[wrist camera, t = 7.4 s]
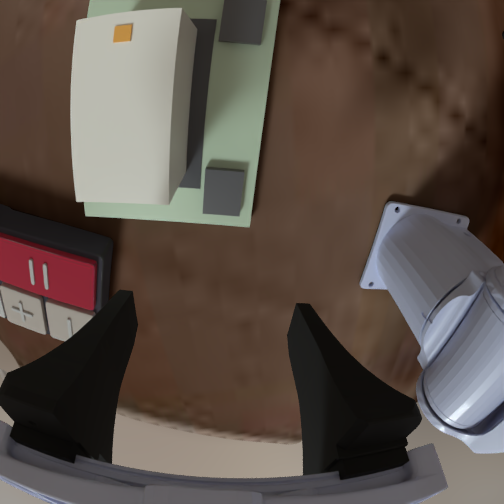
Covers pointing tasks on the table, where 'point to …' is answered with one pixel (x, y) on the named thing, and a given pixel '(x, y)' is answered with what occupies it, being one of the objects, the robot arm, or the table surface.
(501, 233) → the table surface
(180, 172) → the block
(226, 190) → the pcb board
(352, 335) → the table surface
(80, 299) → the calculator
